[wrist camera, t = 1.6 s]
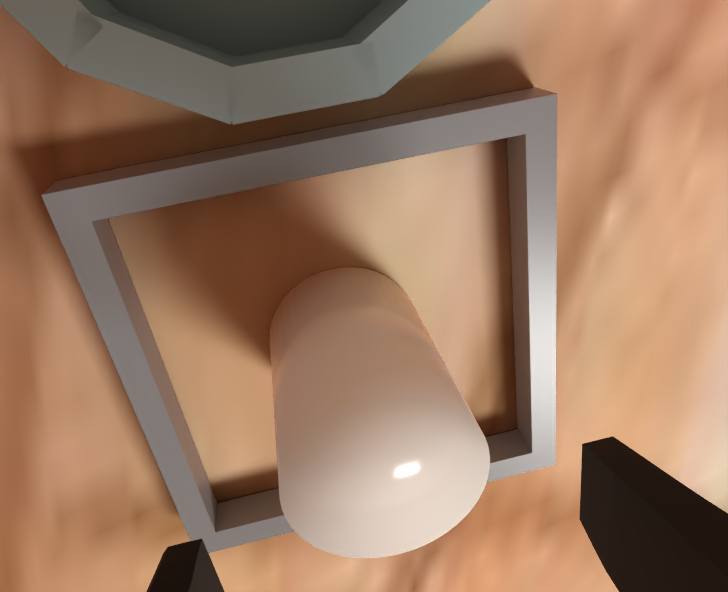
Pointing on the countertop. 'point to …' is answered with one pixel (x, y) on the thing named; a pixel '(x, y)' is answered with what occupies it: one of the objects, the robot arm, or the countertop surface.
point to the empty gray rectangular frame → (294, 162)
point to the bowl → (244, 48)
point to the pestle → (368, 420)
